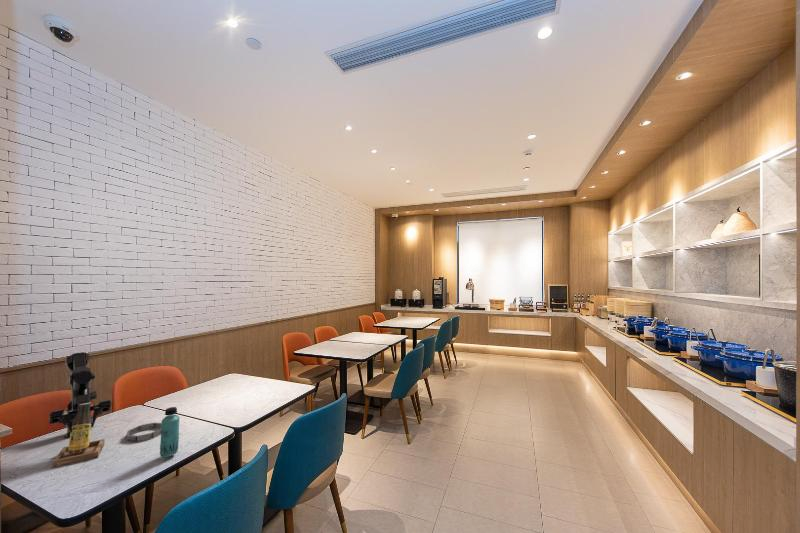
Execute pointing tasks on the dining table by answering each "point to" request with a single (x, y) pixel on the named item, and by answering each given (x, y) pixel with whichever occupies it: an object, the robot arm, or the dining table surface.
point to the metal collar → (134, 438)
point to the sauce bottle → (80, 429)
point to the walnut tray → (79, 454)
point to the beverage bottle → (169, 433)
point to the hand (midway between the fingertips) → (81, 429)
